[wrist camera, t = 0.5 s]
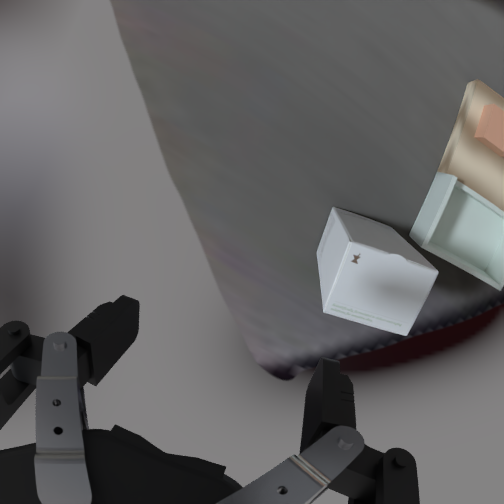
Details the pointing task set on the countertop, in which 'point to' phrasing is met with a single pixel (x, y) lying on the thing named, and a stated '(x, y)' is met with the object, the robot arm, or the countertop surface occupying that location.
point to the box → (462, 229)
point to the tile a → (491, 128)
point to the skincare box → (371, 273)
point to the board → (475, 147)
